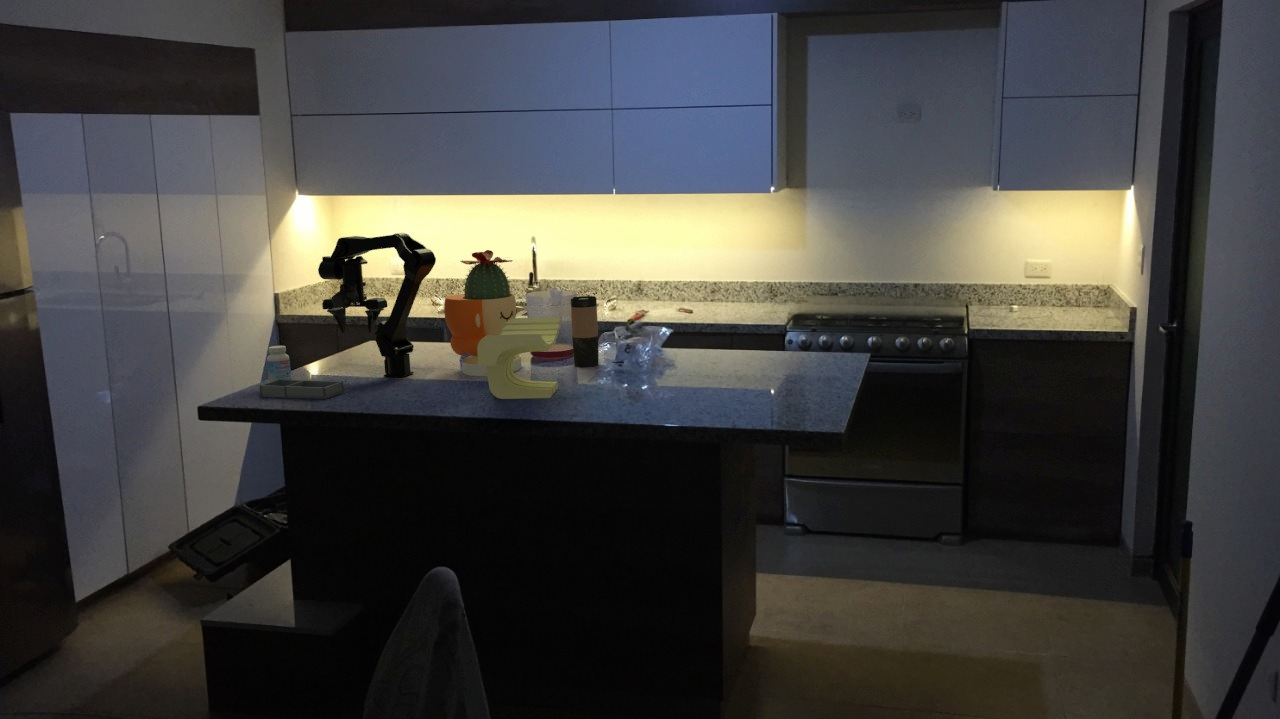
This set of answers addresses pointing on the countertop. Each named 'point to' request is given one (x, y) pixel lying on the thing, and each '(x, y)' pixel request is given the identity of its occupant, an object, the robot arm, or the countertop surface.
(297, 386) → the tray
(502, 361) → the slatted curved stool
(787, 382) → the countertop surface
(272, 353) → the pill bottle
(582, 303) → the travel mug
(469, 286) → the potted cactus
